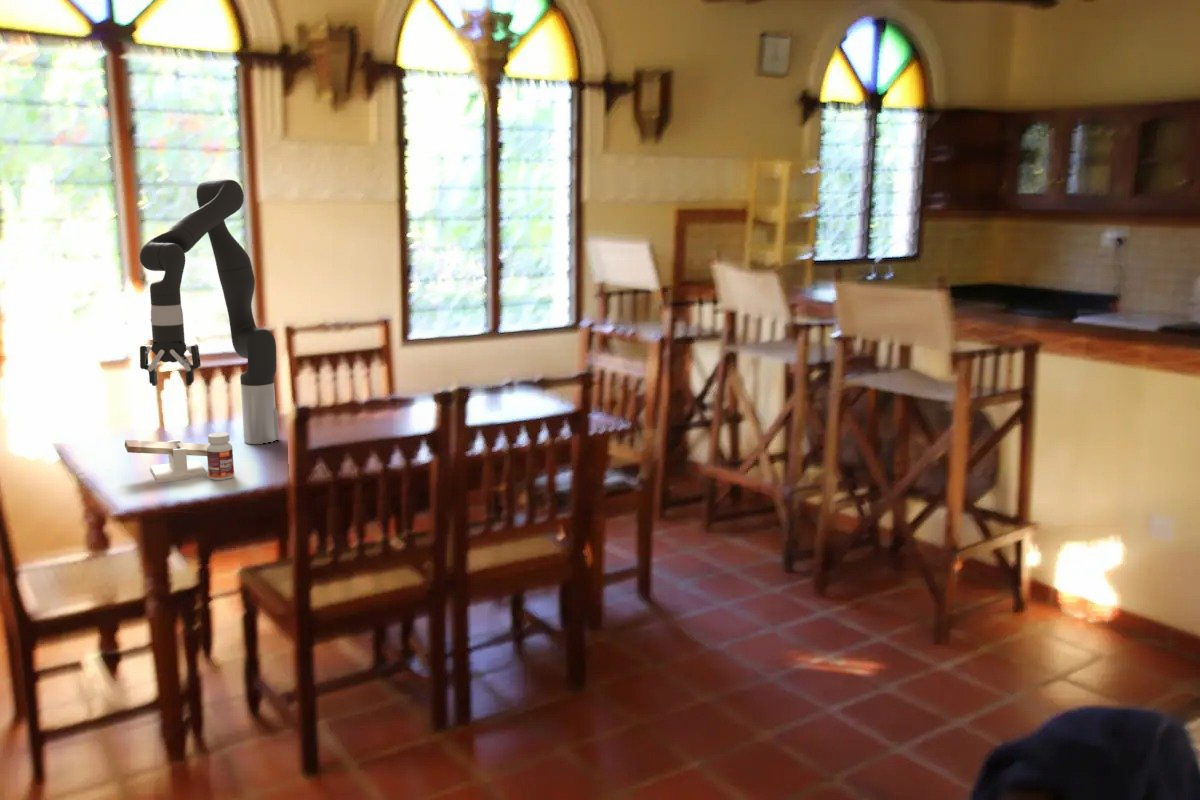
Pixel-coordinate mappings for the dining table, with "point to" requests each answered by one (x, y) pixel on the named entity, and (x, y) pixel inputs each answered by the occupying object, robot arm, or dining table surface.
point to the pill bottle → (220, 456)
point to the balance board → (164, 447)
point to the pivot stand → (178, 467)
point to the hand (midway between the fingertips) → (172, 385)
